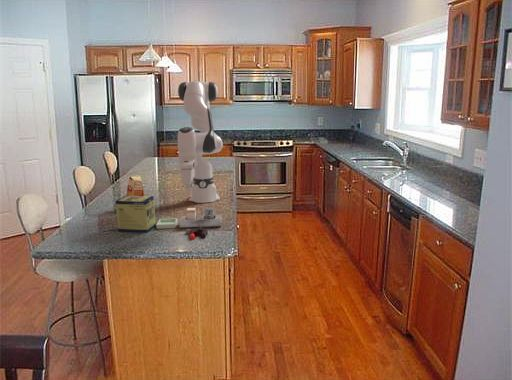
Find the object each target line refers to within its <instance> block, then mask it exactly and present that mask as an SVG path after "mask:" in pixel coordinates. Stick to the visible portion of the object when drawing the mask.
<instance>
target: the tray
mask: <svg viewBox="0 0 512 380" xmlns="http://www.w3.org/2000/svg"><path fill="white" fill-rule="evenodd" d="M178 221H179V220H178V217H174V218H173V217H172V218H159V219H158V221H157V223H156V226H155V227H156V229H158V230H159V229H160V230H161V229H175V228H176V226H177V225H178V224H179V223H178Z"/></svg>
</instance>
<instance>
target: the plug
mask: <svg viewBox="0 0 512 380" xmlns="http://www.w3.org/2000/svg"><path fill="white" fill-rule="evenodd" d="M196 215H197V209H196V207H187V208H186V216H187V220H190V219H196Z"/></svg>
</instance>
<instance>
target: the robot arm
mask: <svg viewBox="0 0 512 380" xmlns="http://www.w3.org/2000/svg"><path fill="white" fill-rule="evenodd" d="M177 95H178V98H179V99H180V100H181V101H182V102H183V109H184V111H185V112H186V114H187V115H189V116H190V119H191V121H190V122H191V127H190V126H189V127H187V126H185V127H181V128H179V129H178V131H177V139H176V142H177V144H176V145H177V149H178V156H177V157H178V167H179V169H180V174H181V182H182V184H183V186H185V189H186V190H185V191H186V193H188V194H189V193H191V197H189V198H188V201H189V202H193V203H199V204H206V203H212V202H216V201H220V200H221V197H220V196H219V194H218V192H217V187H216V185H215V184H214V176H213V165H212V163H211V162H210V161H208V160H206V159H204V158H203V155H210V154H211V155H212V154H213V155H214V154H216V153H220V152H221V151H222V150H223V146H224V144H223V140H222V138H221V137H220V136H219V135H218V134H216V133H215V128H214V123H213V117H212V116H213V115H212V111H211V107H210V106H211V105H210V104H211V103H213V102H215V101H216V100H217V98H218V96H219V89H218V85H217V84H216V83H215V82H212V81H208V82H207V81H200V80H199V81H198V80H193V81H188V82H187V81H183V82H181V83H180V84H179V85H178V88H177ZM195 130H197V131H199V132H196V131H195Z"/></svg>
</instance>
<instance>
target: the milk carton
mask: <svg viewBox="0 0 512 380" xmlns="http://www.w3.org/2000/svg"><path fill="white" fill-rule="evenodd" d="M126 196H146V193H145V187H144V184H143V180H142V177H141V174H140V175H139V174H129V178H128V182H127V186H126Z"/></svg>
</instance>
